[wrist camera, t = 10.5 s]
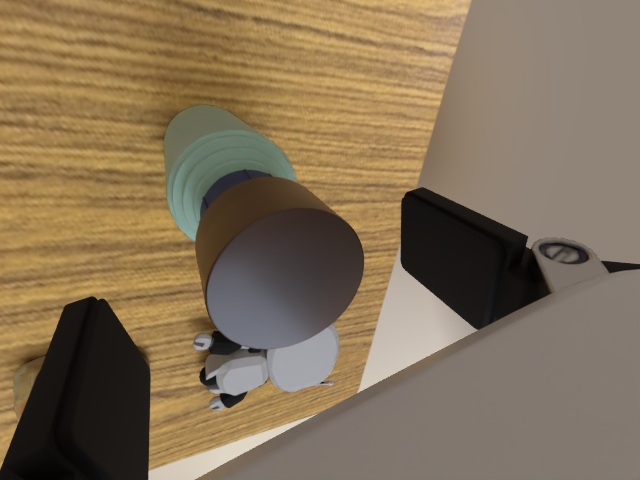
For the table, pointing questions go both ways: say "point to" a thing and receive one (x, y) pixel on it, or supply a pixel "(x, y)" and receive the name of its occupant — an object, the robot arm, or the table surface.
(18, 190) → the table surface
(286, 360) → the robot toy
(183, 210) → the bottle
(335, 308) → the cylinder
